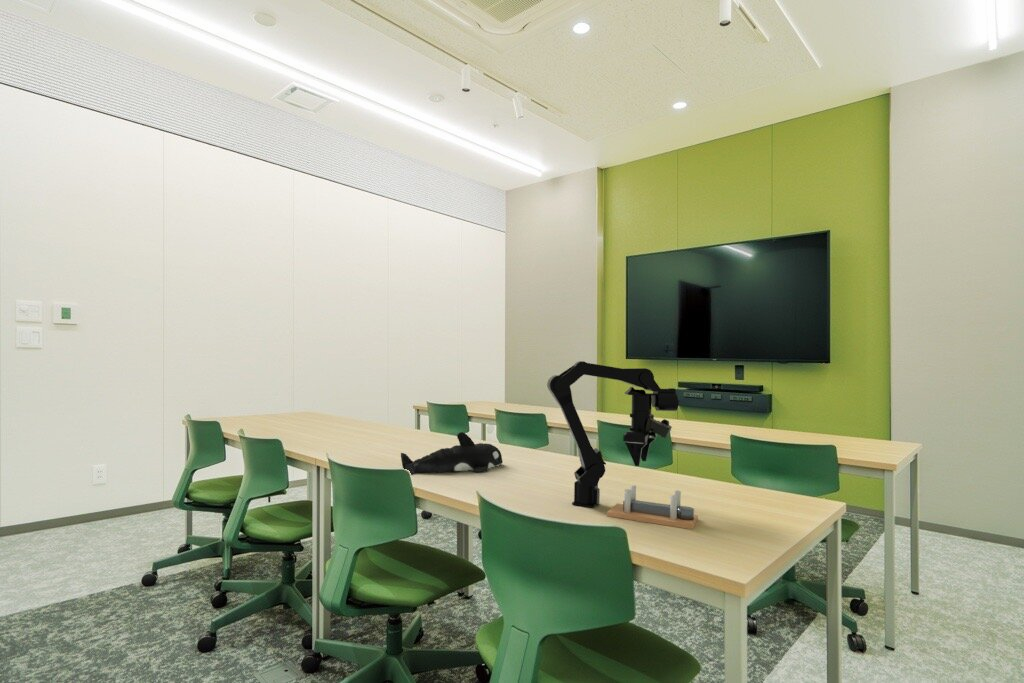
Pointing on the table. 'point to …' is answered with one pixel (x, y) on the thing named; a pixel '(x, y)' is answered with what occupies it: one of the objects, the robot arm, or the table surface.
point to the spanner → (660, 509)
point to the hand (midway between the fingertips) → (640, 463)
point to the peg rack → (670, 521)
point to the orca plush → (456, 458)
